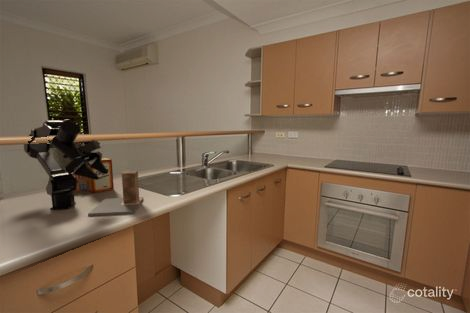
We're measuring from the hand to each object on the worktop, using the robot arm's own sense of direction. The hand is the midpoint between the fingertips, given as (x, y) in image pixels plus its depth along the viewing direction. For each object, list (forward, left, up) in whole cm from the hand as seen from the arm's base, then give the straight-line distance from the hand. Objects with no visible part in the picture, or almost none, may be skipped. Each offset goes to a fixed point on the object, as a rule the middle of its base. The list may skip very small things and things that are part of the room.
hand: (102, 175), depth 89 cm
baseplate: (+5, +1, -14) cm, 14 cm away
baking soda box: (-11, +26, -14) cm, 32 cm away
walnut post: (+9, +4, -12) cm, 16 cm away
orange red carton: (-22, +30, -14) cm, 39 cm away
